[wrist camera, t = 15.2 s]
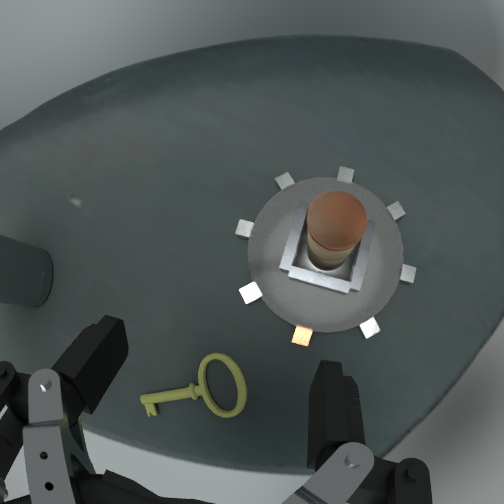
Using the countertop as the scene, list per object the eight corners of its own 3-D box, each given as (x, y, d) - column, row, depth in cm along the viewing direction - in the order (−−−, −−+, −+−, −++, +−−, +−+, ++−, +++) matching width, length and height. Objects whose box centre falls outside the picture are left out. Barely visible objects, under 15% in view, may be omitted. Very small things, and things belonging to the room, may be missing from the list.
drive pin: (301, 264, 29) (299, 238, 19) (313, 226, 30) (315, 183, 20) (341, 276, 28) (359, 256, 19) (352, 237, 29) (372, 200, 19)
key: (143, 394, 31) (134, 398, 29) (225, 344, 31) (220, 346, 29) (176, 444, 29) (169, 450, 27) (263, 399, 29) (260, 404, 27)
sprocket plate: (213, 314, 31) (200, 313, 27) (266, 156, 34) (260, 137, 30) (386, 365, 27) (397, 371, 23) (422, 197, 30) (434, 182, 26)
